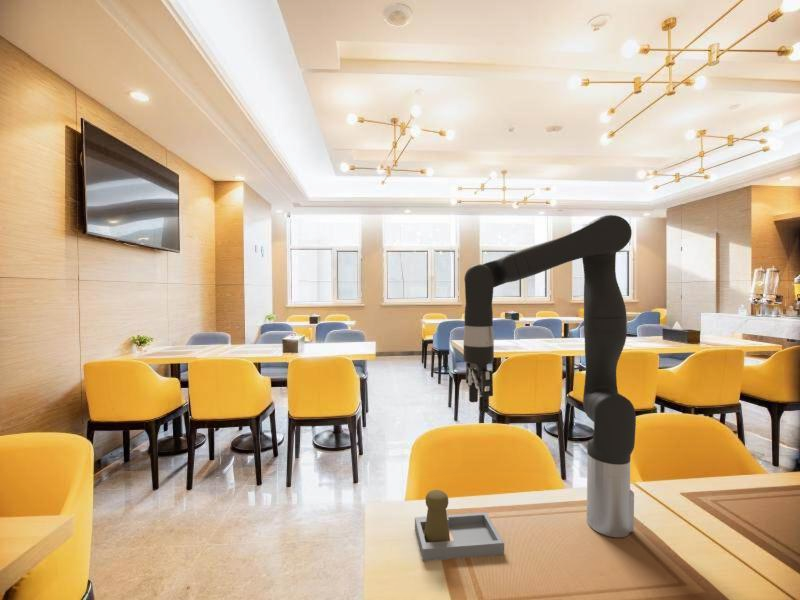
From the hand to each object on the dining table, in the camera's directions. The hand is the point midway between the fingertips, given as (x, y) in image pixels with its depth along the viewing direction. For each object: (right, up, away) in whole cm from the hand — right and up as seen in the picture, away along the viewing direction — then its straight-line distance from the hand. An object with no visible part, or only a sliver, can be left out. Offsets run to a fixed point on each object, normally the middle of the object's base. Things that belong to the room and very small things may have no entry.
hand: (478, 406), depth 96 cm
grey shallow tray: (-7, -28, -9) cm, 31 cm away
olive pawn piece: (-12, -28, -10) cm, 32 cm away
